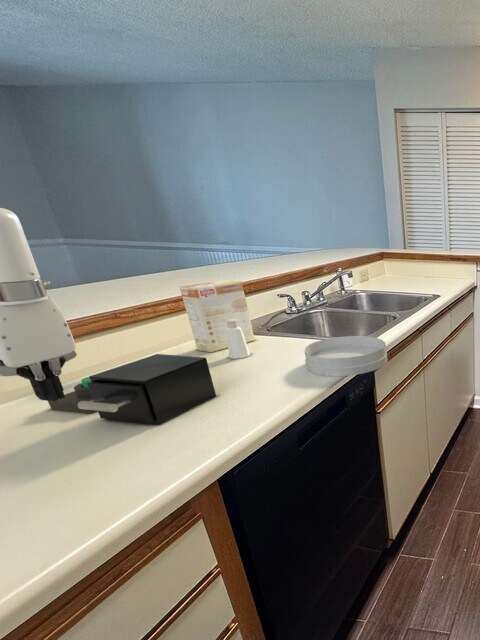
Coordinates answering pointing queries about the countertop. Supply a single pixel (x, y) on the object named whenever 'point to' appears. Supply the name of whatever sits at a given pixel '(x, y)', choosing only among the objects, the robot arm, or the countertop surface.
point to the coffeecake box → (216, 312)
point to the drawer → (119, 401)
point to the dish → (345, 355)
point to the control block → (73, 400)
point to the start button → (85, 382)
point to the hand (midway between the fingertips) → (52, 398)
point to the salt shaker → (236, 340)
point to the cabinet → (166, 383)
